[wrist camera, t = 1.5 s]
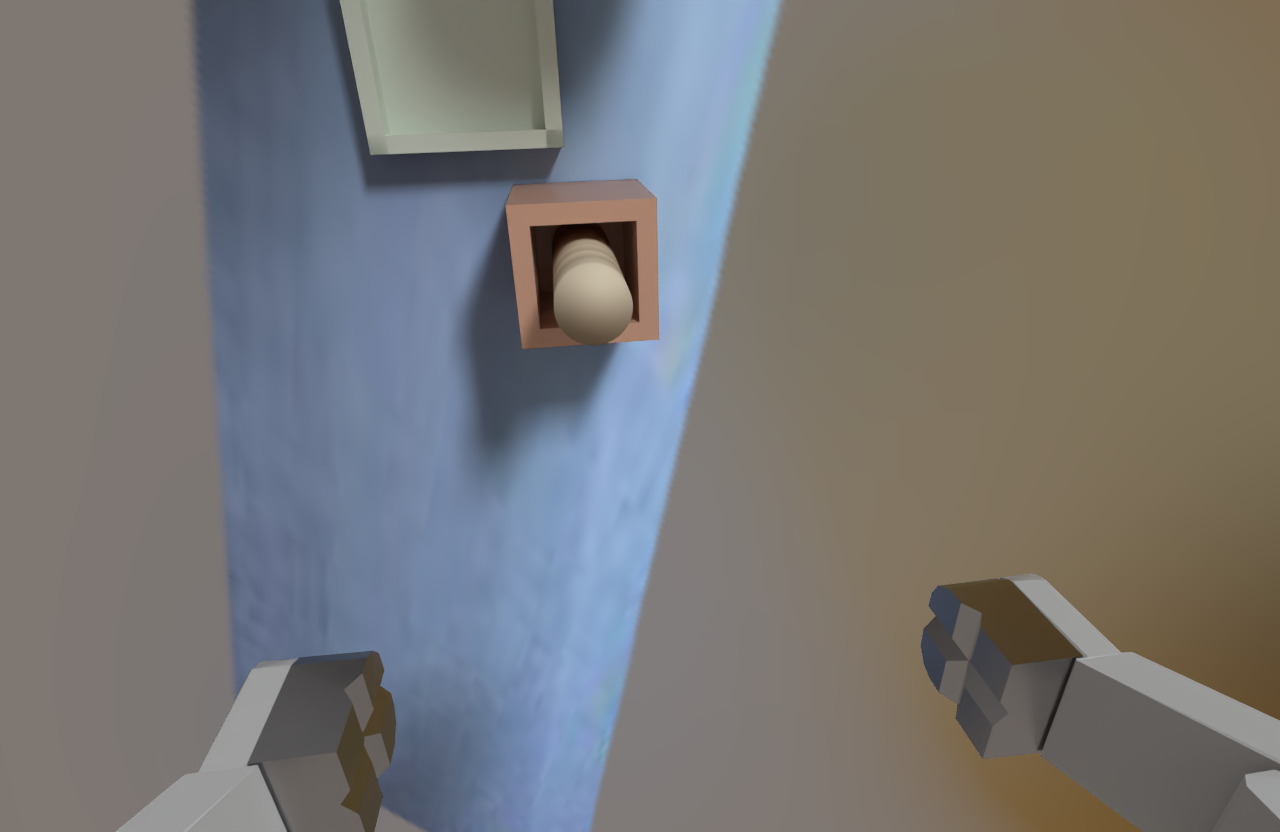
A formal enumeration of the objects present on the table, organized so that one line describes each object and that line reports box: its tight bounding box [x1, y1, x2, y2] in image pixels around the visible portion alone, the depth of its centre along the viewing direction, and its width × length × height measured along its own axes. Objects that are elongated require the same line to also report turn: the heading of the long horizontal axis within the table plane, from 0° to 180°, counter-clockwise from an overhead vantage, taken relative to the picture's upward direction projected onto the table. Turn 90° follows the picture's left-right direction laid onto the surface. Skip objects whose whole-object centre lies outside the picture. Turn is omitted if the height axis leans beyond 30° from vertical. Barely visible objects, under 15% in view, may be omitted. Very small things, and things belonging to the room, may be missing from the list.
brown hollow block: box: [505, 179, 659, 349], centre depth 32 cm, size 6×6×7 cm
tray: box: [340, 0, 564, 155], centre depth 29 cm, size 12×9×2 cm
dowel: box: [552, 223, 633, 345], centre depth 29 cm, size 3×3×11 cm
